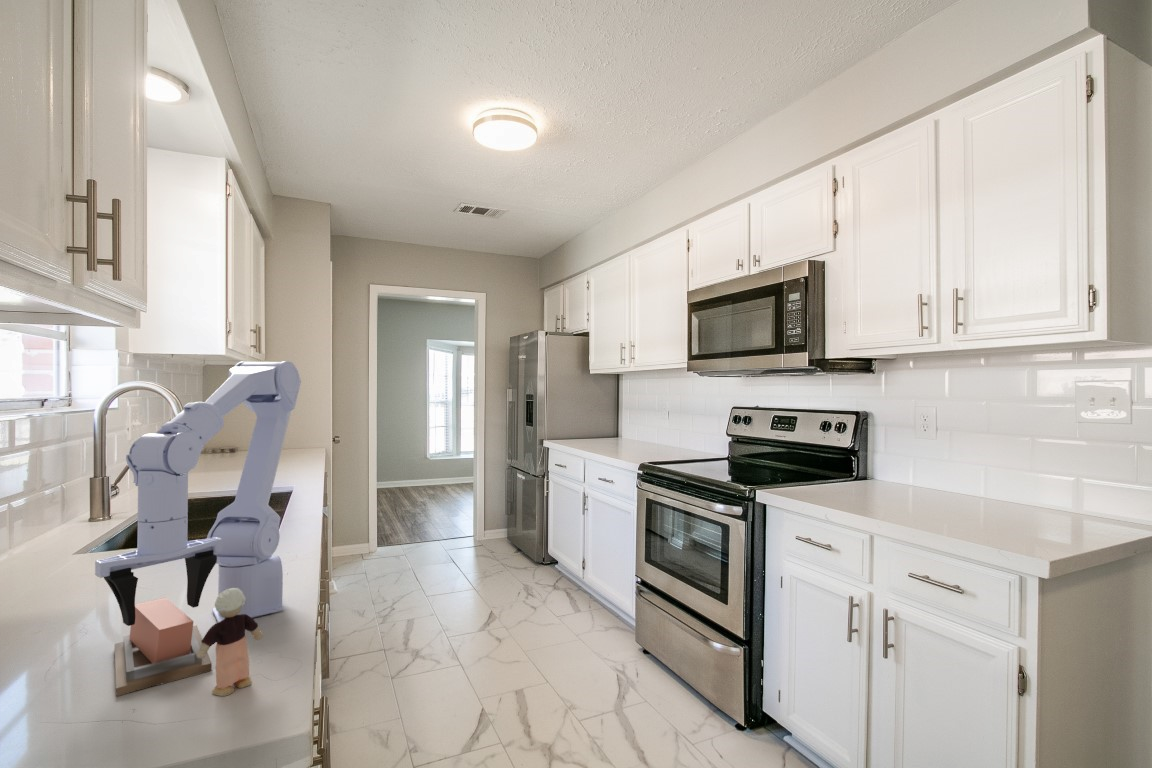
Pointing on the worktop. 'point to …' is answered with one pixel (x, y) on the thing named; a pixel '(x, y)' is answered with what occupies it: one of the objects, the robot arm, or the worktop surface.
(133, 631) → the block
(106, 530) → the worktop surface
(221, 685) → the grandmother figurine
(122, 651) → the cradle
